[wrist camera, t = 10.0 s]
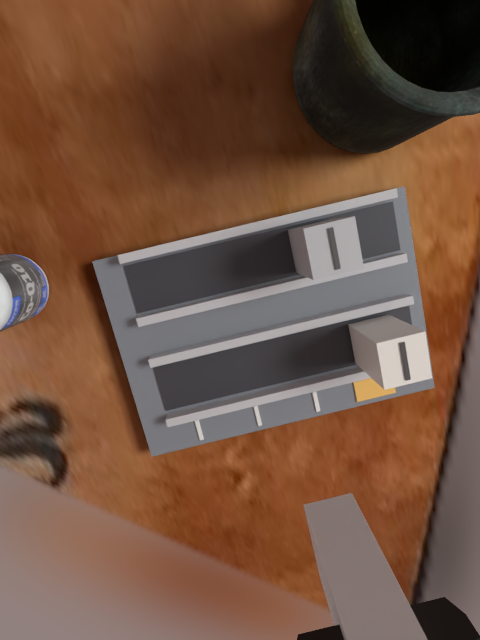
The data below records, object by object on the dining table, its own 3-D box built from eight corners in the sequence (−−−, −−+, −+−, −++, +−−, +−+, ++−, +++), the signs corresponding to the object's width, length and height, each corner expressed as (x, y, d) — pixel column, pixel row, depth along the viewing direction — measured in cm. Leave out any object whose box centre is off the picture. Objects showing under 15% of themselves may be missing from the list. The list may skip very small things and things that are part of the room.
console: (96, 260, 30) (63, 267, 24) (397, 188, 30) (448, 175, 24) (153, 448, 33) (138, 501, 27) (426, 382, 34) (479, 418, 27)
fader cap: (348, 324, 31) (376, 343, 25) (388, 314, 31) (426, 331, 25) (355, 363, 31) (385, 390, 26) (395, 353, 31) (433, 378, 26)
